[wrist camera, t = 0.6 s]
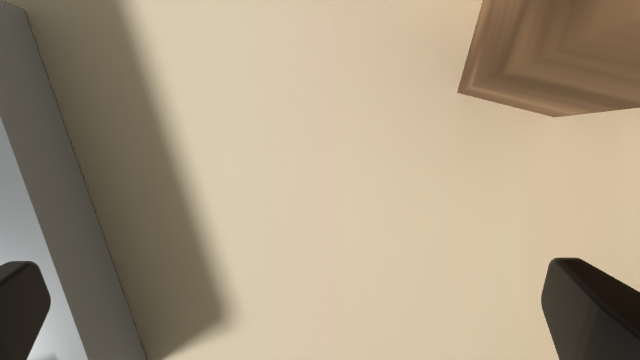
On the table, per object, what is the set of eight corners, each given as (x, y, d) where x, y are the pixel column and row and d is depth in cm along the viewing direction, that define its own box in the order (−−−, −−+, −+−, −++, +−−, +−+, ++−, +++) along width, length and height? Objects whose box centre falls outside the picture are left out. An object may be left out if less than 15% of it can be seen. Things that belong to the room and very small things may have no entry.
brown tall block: (554, 117, 21) (917, 75, 8) (457, 92, 21) (652, 10, 8) (584, 17, 20) (1021, -205, 7) (484, -7, 20) (741, -270, 7)
